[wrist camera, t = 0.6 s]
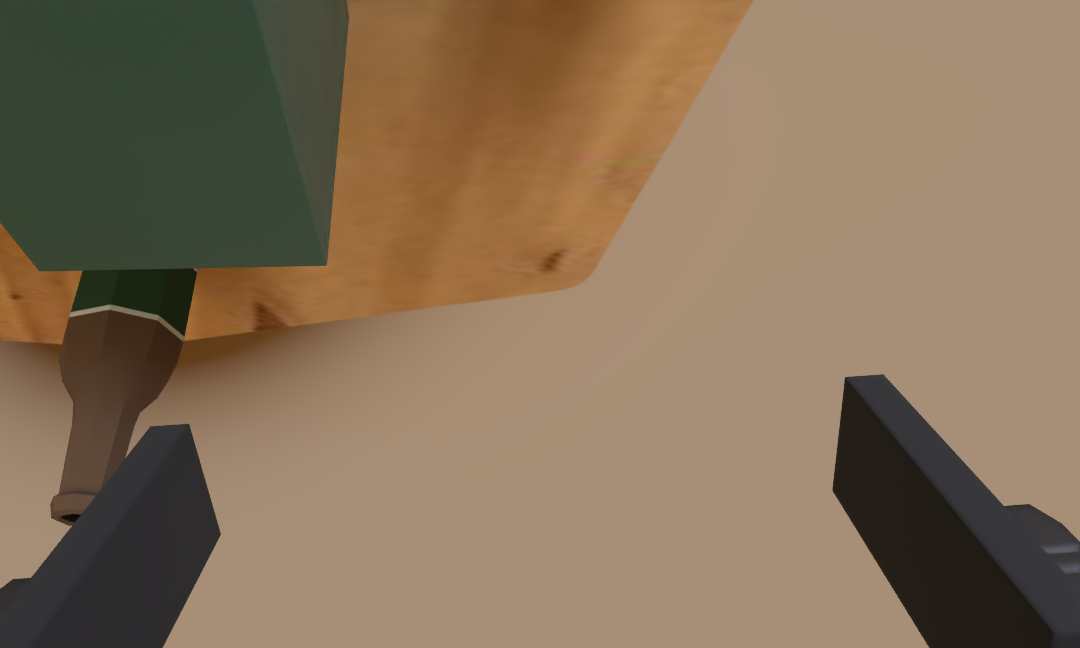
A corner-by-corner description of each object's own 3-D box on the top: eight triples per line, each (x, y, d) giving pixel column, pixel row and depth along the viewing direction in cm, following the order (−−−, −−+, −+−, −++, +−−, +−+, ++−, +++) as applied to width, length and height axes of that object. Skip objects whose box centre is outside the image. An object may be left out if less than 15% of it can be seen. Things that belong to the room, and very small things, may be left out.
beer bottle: (136, 169, 56) (50, 488, 44) (228, 223, 62) (176, 519, 49) (76, 214, 60) (-20, 521, 47) (168, 261, 66) (104, 547, 53)
